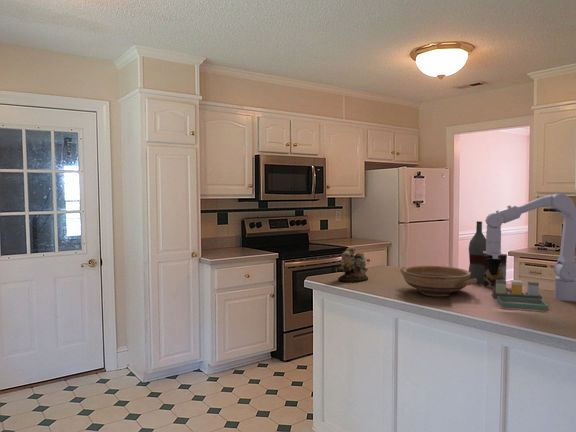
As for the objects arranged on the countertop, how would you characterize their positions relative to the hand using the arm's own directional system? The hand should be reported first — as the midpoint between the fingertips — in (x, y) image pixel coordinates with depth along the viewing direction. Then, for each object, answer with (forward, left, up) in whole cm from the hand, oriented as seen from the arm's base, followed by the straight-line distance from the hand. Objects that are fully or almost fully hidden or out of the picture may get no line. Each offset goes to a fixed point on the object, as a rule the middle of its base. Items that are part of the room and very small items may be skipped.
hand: (492, 273), depth 196 cm
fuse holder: (-9, +4, -10) cm, 14 cm away
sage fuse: (-3, +4, -9) cm, 10 cm away
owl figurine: (+63, -19, -10) cm, 66 cm away
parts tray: (-9, +15, -10) cm, 20 cm away
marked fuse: (-9, +4, -9) cm, 13 cm away
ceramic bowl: (+23, 0, -10) cm, 25 cm away
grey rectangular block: (-15, +4, -9) cm, 18 cm away
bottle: (+3, -32, -10) cm, 34 cm away
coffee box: (-3, -18, -10) cm, 21 cm away
